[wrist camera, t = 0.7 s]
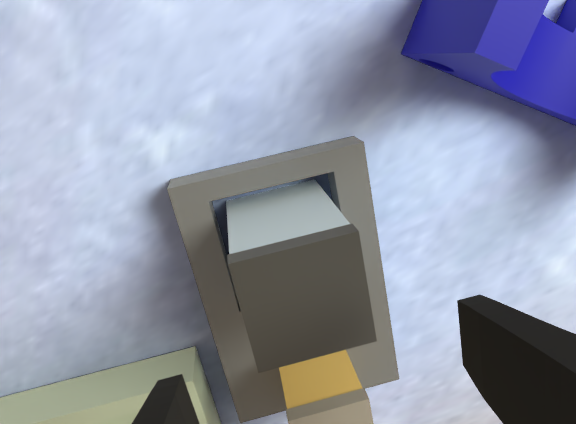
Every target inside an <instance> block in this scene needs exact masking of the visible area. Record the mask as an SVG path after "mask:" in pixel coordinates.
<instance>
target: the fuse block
mask: <svg viewBox="0 0 576 424" xmlns="http://www.w3.org/2000/svg"><path fill="white" fill-rule="evenodd" d="M326 173H328V178H329V184H330V189H331V195H332V200H333V203H334V204H335V205H336V207H337V208H338V209H339V210H340V212H341V213H342V214H343V215H344V217H345V218H346V219H347V220H348V222H349V223H350V224H352V223H353V225H354V226H355V227H356V228H357V230H358V231H359V235H360V241H361V247H362V253H363V259H364V265H365V271H366V278H367V284H368V290H369V296H370V302H371V308H372V314H373V320H374V326H375V332H376V338H377V341H376V342H372V343H369V344H365V345H361V346H358V347H354V348H350V349H346V350H343V351H339V352H335V353H332V354H328V355H324V356H320V357H317V358H313V359H309V360H306V361H302V362H298V363H295V364H291V365H287V366H283V367H280V368H276V369H272V370H269V371H265V372H261V373H258V370H257V366H256V363H255V359H254V355H253V352H252V348H251V345H250V341H249V338H248V334H247V330H246V327H245V323H244V320H243V316H242V313H241V309H240V306H239V302H238V298H237V295H236V291H235V288H234V284H233V281H232V277H231V274H230V270H229V266H228V258H227V254H226V250H225V247H224V243H223V240H222V236H221V233H220V229H219V225H218V222H217V218H216V215H215V211H214V207H213V204H212V201H214V200H218V199H222V198H226V197H230V196H234V195H239V194H243V193H247V192H251V191H255V190H259V189H263V188H268V187H272V186H276V185H280V184H284V183H288V182H292V181H297V180H301V179H305V178H309V177H313V176H317V175H321V174H326ZM167 190H168V194H169V197H170V200H171V203H172V206H173V210H174V213H175V216H176V219H177V222H178V226H179V229H180V232H181V235H182V238H183V242H184V245H185V248H186V251H187V254H188V258H189V261H190V264H191V267H192V270H193V274H194V277H195V280H196V283H197V286H198V290H199V293H200V296H201V299H202V302H203V306H204V309H205V312H206V315H207V318H208V322H209V325H210V328H211V331H212V334H213V338H214V341H215V344H216V347H217V350H218V354H219V357H220V360H221V363H222V366H223V370H224V373H225V376H226V379H227V382H228V386H229V389H230V392H231V395H232V398H233V402H234V405H235V408H236V411H237V414H238V418H239V421H240V423H242V422H246V421H249V420H253V419H257V418H260V417H264V416H268V415H271V414H275V413H278V412H282V411H286V414H287V419H288V423H289V424H373V418H372V413H371V407H370V402H369V398H368V396H367V393H366V391H365V388H369V387H373V386H376V385H380V384H384V383H387V382H391V381H394V380H398V379H399V374H398V368H397V361H396V354H395V348H394V341H393V334H392V328H391V321H390V314H389V308H388V301H387V294H386V288H385V281H384V274H383V268H382V261H381V254H380V247H379V241H378V234H377V227H376V221H375V214H374V207H373V201H372V194H371V187H370V181H369V174H368V167H367V161H366V154H365V147H364V142H363V141H361V140H359V139H358V138H356V137H354V136H351V137H347V138H343V139H339V140H335V141H330V142H326V143H322V144H318V145H313V146H309V147H305V148H301V149H297V150H292V151H288V152H284V153H280V154H275V155H271V156H267V157H263V158H259V159H254V160H250V161H246V162H242V163H237V164H233V165H229V166H225V167H221V168H216V169H212V170H208V171H204V172H199V173H195V174H191V175H187V176H182V177H178V178H174V179H171V180H170V183H169V185H168V188H167Z"/></svg>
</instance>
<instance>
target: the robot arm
mask: <svg viewBox="0 0 576 424" xmlns="http://www.w3.org/2000/svg"><path fill="white" fill-rule="evenodd" d="M458 313H459V324H460V336H461V347H462V359H463V366H464V367H465V369H466V371H467V372H468V374H469V376H470V377H471V379H472V381H473V382H474V384H475V386H476V387H477V389H478V390H479V392H480V393H481V395H482V397H483V398H484V400H485V401H486V402H487V403H488V405H489V406H490V407H491V409H492V410H493V411H494V412H495V414H496V415H497V416H498V417H499V419H500V420H501V421H502V423H503V424H576V334H574V333H571V332H569V331H566V330H564V329H561V328H559V327H556V326H554V325H551V324H549V323H546V322H544V321H542V320H539V319H537V318H535V317H532V316H530V315H528V314H525V313H523V312H521V311H518V310H516V309H514V308H511V307H509V306H507V305H504V304H502V303H500V302H497V301H495V300H492V299H490V298H487V297H485V296H482V295H477V296H473V297H469V298H465V299H462V300H458ZM132 424H200V423H199V420H198V418H197V415H196V412H195V409H194V406H193V403H192V401H191V398H190V395H189V392H188V389H187V386H186V384H185V381H184V378H183V375H182V374H180V375H176V376H172V377H169V378H165V379H161V380H158V381H157V382H156V384H155V386H154V387H153V389H152V390H151V392H150V394H149V395H148V397H147V399H146V400H145V402H144V404H143V405H142V407H141V409H140V410H139V412H138V414H137V415H136V417H135V419H134V420H133V422H132Z"/></svg>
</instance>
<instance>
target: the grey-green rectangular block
mask: <svg viewBox="0 0 576 424" xmlns="http://www.w3.org/2000/svg"><path fill="white" fill-rule="evenodd" d="M226 207H227V224H228V241H229V254H228V255H227V257H228V266H229V270H230V274H231V277H232V281H233V284H234V288H235V291H236V295H237V298H238V302H239V306H240V309H241V313H242V316H243V320H244V323H245V327H246V330H247V334H248V338H249V341H250V345H251V348H252V352H253V355H254V359H255V363H256V366H257V370H258V373H261V372H265V371H269V370H272V369H276V368H280V367H283V366H287V365H291V364H295V363H298V362H302V361H306V360H309V359H313V358H317V357H320V356H324V355H328V354H332V353H335V352H339V351H343V350H346V349H350V348H354V347H358V346H361V345H365V344H369V343H372V342H376V341H377V338H376V332H375V326H374V320H373V314H372V308H371V302H370V296H369V290H368V284H367V278H366V271H365V265H364V259H363V253H362V247H361V241H360V235H359V231H358V230H357V228H356V227H355V226H354V225H353V223H352V224H350V223H349V222H348V220H347V219H346V218H345V217H344V215H343V214H342V213H341V212H340V210H339V209H338V208H337V207H336V205H335V204H334V203H333V202H332V200H331V199H330V198H329V197H328V195H327V194H326V193H325V192H324V190H323V189H322V188H321V186H320V185H319V184H318V183H317V181H316V180H315V179H314V180H310V181H306V182H301V183H297V184H293V185H289V186H285V187H281V188H277V189H273V190H268V191H264V192H260V193H256V194H252V195H248V196H244V197H239V198H235V199H231V200H227V201H226Z"/></svg>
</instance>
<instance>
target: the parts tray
mask: <svg viewBox="0 0 576 424" xmlns="http://www.w3.org/2000/svg"><path fill="white" fill-rule="evenodd" d="M180 374H182V375H183V378H184V381H185V384H186V386H187V389H188V392H189V395H190V398H191V401H192V403H193V406H194V409H195V412H196V415H197V418H198V420H199V423H200V424H221V421H220V418H219V415H218V412H217V409H216V406H215V403H214V400H213V397H212V394H211V391H210V388H209V385H208V382H207V379H206V376H205V373H204V370H203V367H202V364H201V361H200V358H199V355H198V352H197V349H196V346H194V347H190V348H187V349H183V350H179V351H175V352H171V353H168V354H164V355H160V356H156V357H152V358H149V359H145V360H141V361H137V362H133V363H130V364H126V365H122V366H118V367H114V368H110V369H107V370H103V371H99V372H95V373H91V374H88V375H84V376H80V377H76V378H72V379H69V380H65V381H61V382H57V383H53V384H50V385H46V386H42V387H38V388H34V389H31V390H27V391H23V392H19V393H15V394H11V395H8V396H4V397H0V424H132V422H133V420H134V419H135V417H136V415H137V414H138V412H139V410H140V409H141V407H142V405H143V404H144V402H145V400H146V399H147V397H148V395H149V394H150V392H151V390H152V389H153V387H154V386H155V384H156V382H157V381H158V380H161V379H165V378H169V377H172V376H176V375H180Z"/></svg>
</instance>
